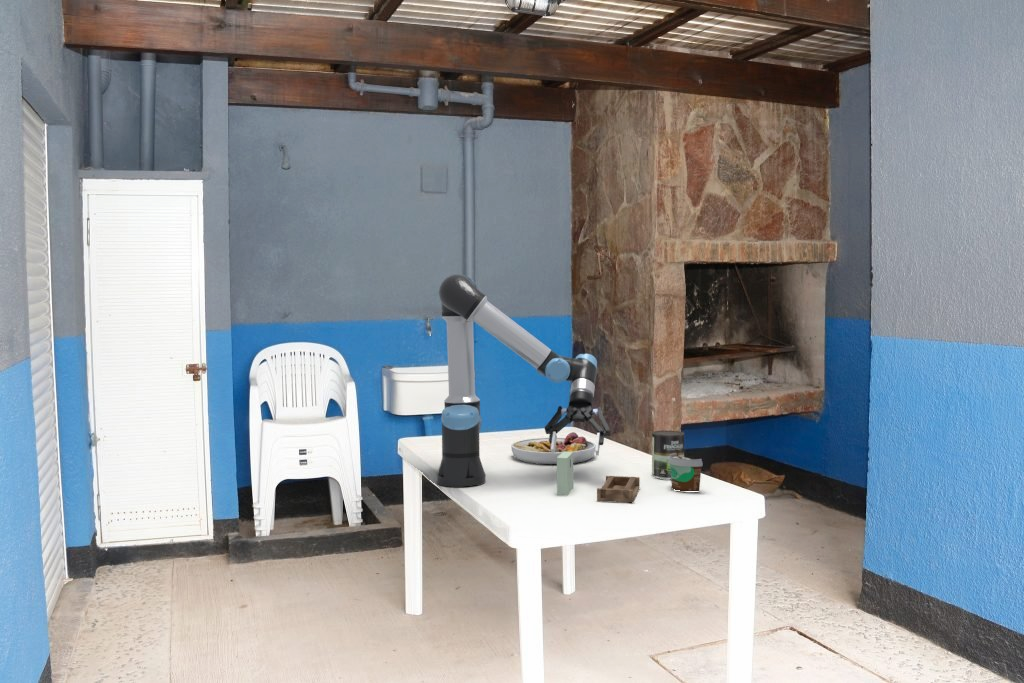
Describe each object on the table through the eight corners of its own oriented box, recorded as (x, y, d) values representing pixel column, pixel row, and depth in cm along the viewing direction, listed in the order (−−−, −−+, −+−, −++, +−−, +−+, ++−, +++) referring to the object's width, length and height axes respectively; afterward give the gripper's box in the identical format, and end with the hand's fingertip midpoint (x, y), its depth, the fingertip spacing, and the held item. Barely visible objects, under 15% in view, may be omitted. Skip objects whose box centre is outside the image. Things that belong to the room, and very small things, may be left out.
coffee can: (690, 478, 268) (690, 434, 267) (660, 481, 265) (660, 436, 264) (675, 472, 278) (675, 429, 277) (646, 474, 275) (646, 431, 274)
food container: (659, 487, 256) (659, 454, 256) (674, 484, 259) (675, 452, 259) (686, 495, 246) (686, 461, 245) (702, 493, 249) (702, 459, 248)
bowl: (565, 470, 283) (565, 447, 283) (494, 460, 301) (494, 438, 301) (611, 456, 307) (611, 434, 307) (543, 448, 325) (543, 427, 325)
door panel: (556, 495, 248) (556, 457, 247) (563, 487, 257) (563, 451, 257) (567, 495, 247) (567, 458, 246) (573, 488, 257) (573, 451, 256)
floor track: (597, 501, 240) (596, 489, 240) (606, 487, 257) (606, 475, 257) (632, 503, 237) (632, 490, 237) (639, 488, 255) (639, 477, 254)
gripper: (622, 404, 271) (616, 460, 257) (545, 402, 277) (536, 458, 263) (620, 389, 265) (614, 446, 252) (541, 388, 271) (532, 444, 258)
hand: (574, 452), depth 258 cm, fingers open, 13 cm apart
